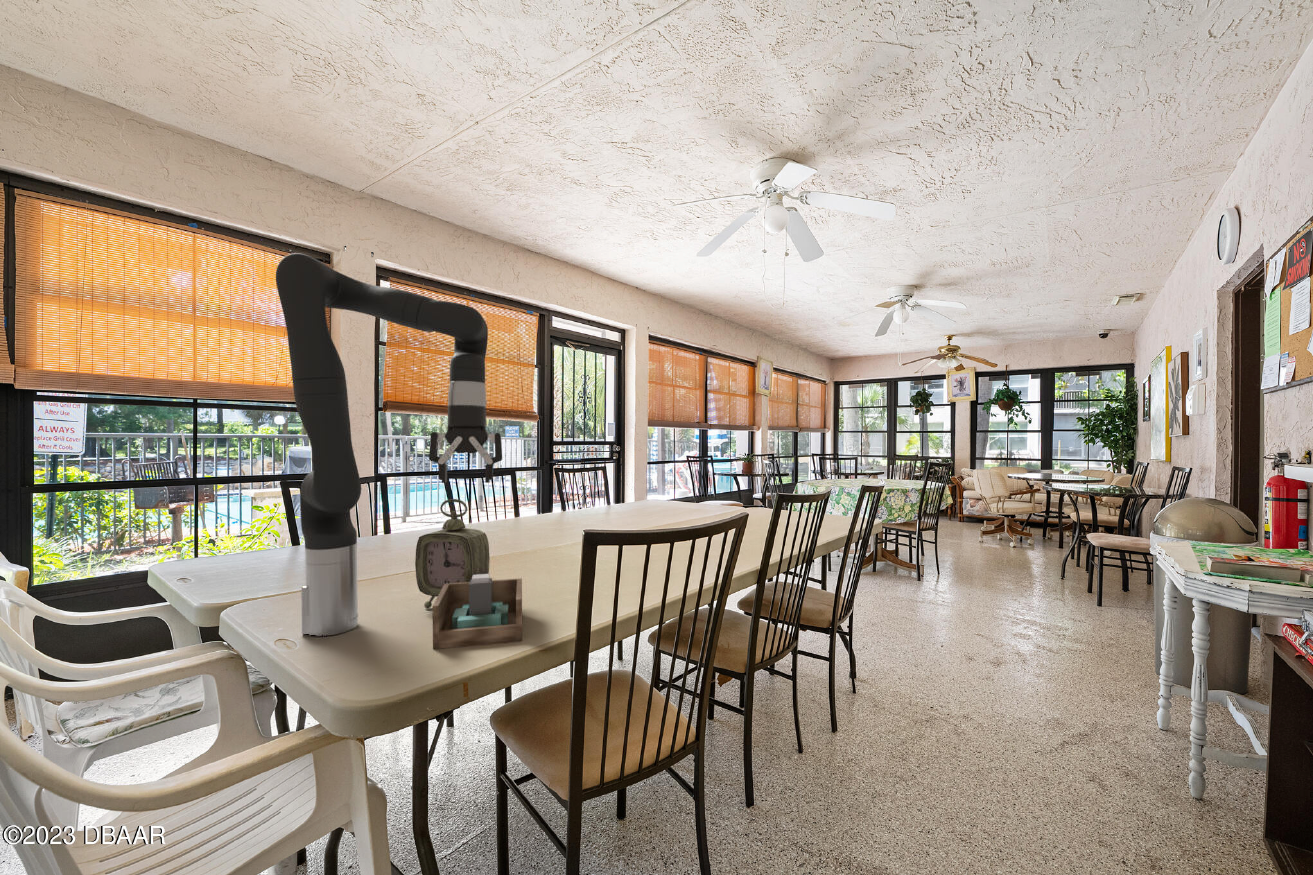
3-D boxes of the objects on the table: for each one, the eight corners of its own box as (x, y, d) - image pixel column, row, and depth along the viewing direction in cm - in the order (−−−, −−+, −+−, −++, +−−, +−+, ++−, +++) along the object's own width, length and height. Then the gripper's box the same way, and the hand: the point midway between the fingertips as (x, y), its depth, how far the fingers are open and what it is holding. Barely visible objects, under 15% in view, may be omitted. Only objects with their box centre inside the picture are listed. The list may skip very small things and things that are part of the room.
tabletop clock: (415, 610, 125) (414, 500, 124) (440, 599, 133) (439, 496, 133) (472, 615, 121) (471, 501, 121) (494, 602, 130) (492, 497, 130)
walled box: (432, 649, 102) (432, 606, 102) (445, 620, 117) (444, 583, 117) (521, 640, 105) (521, 599, 105) (522, 614, 121) (521, 578, 121)
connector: (469, 629, 109) (468, 579, 109) (471, 622, 113) (470, 574, 113) (491, 627, 110) (490, 578, 110) (492, 621, 114) (492, 572, 114)
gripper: (427, 402, 109) (426, 484, 109) (501, 404, 112) (500, 483, 112) (434, 405, 117) (432, 481, 116) (503, 406, 120) (502, 481, 119)
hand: (466, 482), depth 114 cm, fingers open, 8 cm apart
